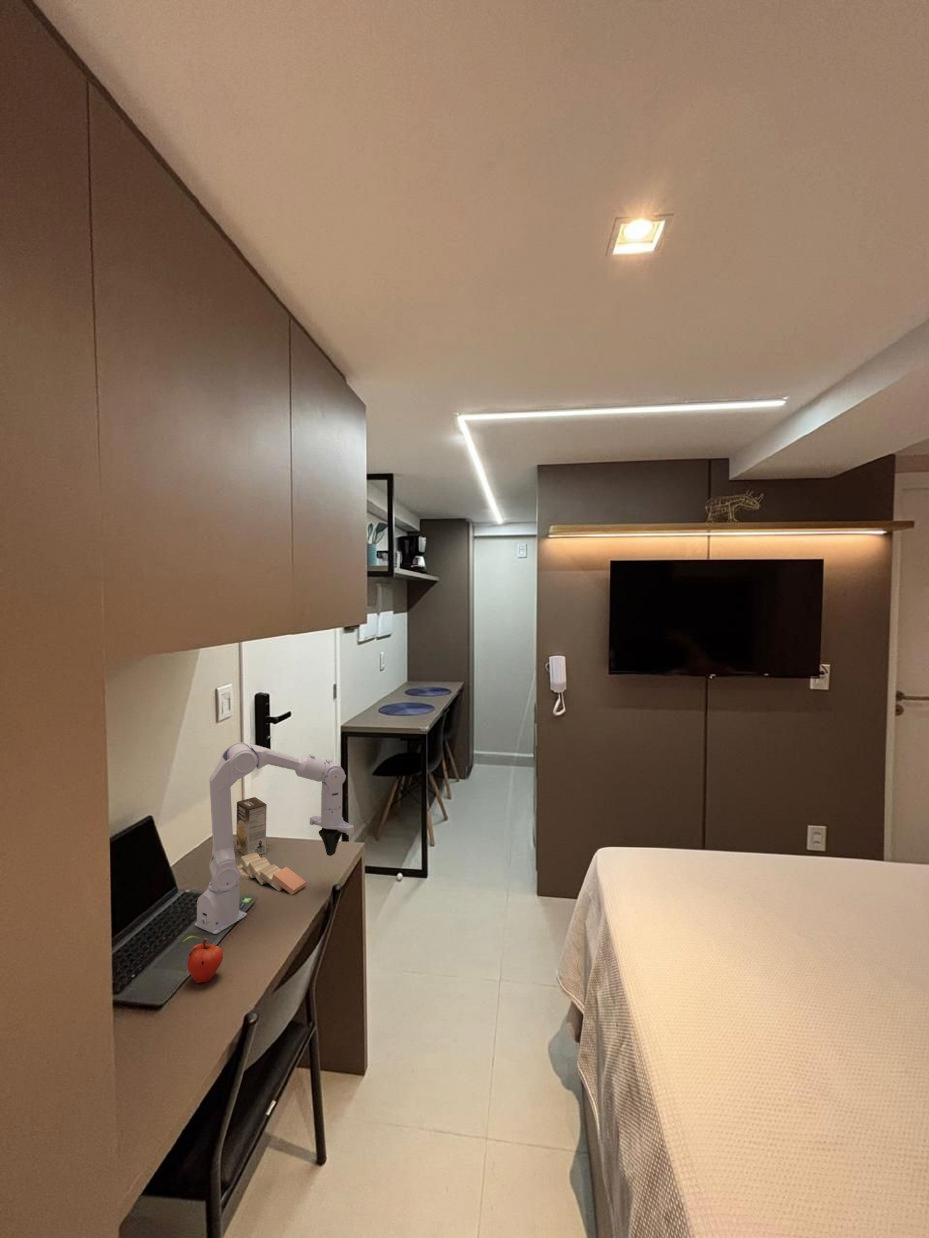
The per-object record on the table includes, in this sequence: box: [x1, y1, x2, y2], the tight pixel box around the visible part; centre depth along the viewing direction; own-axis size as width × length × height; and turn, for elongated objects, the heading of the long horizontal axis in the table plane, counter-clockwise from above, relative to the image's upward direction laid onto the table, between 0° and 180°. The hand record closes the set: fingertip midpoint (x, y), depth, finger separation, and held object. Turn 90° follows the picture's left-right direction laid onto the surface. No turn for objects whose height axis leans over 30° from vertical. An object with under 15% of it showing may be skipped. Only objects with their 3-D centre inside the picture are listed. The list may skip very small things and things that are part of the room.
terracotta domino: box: [272, 866, 307, 896], centre depth 152 cm, size 2×5×8 cm
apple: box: [181, 935, 224, 984], centre depth 114 cm, size 8×7×10 cm
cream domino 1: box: [237, 863, 252, 881], centre depth 161 cm, size 2×5×8 cm
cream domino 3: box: [248, 856, 272, 885], centre depth 157 cm, size 2×5×8 cm
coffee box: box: [235, 796, 268, 856], centre depth 175 cm, size 9×6×16 cm
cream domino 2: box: [239, 853, 262, 879], centre depth 161 cm, size 2×5×8 cm
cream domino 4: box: [260, 864, 285, 892], centre depth 154 cm, size 2×5×8 cm
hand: (331, 854), depth 151 cm, fingers closed
